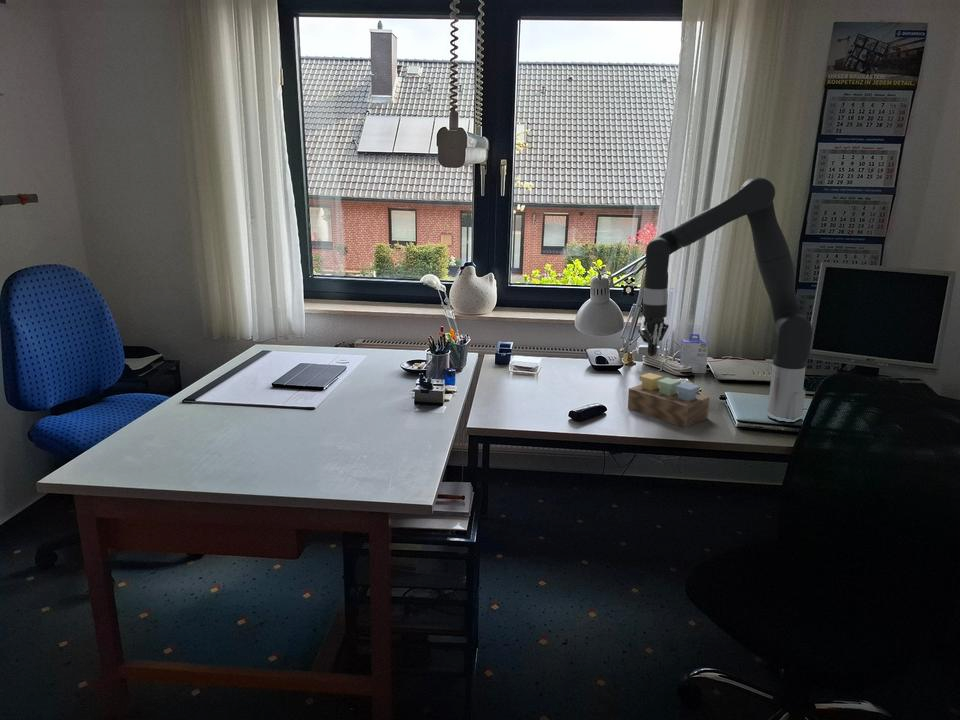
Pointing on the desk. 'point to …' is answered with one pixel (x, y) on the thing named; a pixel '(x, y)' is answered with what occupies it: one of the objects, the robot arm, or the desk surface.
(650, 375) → the button ochre
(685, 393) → the button slate
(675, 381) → the button sage
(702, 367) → the ink cartridge box
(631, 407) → the control box
